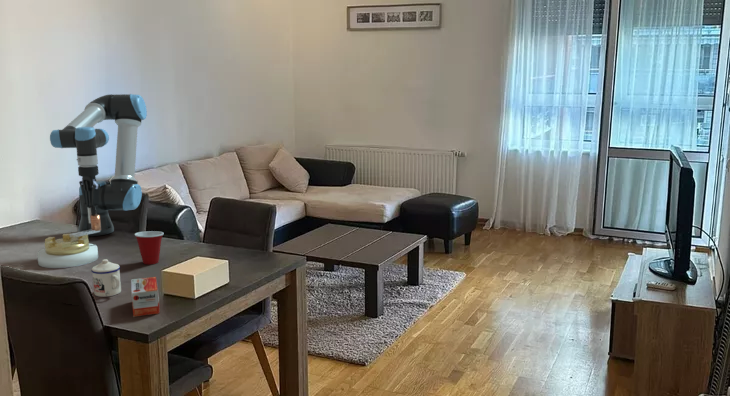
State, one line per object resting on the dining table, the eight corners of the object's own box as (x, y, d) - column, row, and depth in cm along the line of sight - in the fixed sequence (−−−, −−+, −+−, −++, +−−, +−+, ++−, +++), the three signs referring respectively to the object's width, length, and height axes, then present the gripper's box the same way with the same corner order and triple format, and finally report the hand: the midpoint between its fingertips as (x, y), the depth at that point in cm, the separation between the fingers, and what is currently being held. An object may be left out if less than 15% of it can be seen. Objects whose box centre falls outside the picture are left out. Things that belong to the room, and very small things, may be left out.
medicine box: (132, 301, 230) (130, 278, 228) (158, 298, 232) (156, 275, 231) (133, 317, 216) (131, 292, 214) (160, 314, 218) (158, 289, 217)
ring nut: (58, 257, 266) (55, 228, 263) (37, 251, 275) (34, 222, 273) (112, 244, 283) (110, 217, 281) (90, 238, 293) (88, 212, 291)
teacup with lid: (88, 293, 238) (85, 260, 235) (112, 286, 244) (110, 254, 242) (107, 301, 230) (104, 267, 228) (132, 293, 237) (129, 260, 235)
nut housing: (94, 249, 292) (93, 239, 291) (102, 262, 273) (101, 252, 272) (36, 257, 282) (35, 247, 281) (40, 271, 263) (39, 260, 262)
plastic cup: (171, 259, 276) (169, 230, 274) (154, 267, 266) (152, 237, 264) (148, 257, 280) (146, 228, 278) (130, 265, 270) (128, 234, 268)
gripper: (71, 165, 284) (76, 221, 288) (86, 168, 275) (91, 226, 280) (89, 162, 289) (93, 218, 294) (104, 166, 281) (109, 223, 285)
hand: (92, 222), depth 287 cm, fingers closed
